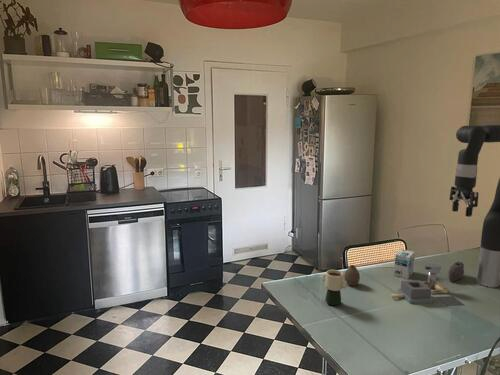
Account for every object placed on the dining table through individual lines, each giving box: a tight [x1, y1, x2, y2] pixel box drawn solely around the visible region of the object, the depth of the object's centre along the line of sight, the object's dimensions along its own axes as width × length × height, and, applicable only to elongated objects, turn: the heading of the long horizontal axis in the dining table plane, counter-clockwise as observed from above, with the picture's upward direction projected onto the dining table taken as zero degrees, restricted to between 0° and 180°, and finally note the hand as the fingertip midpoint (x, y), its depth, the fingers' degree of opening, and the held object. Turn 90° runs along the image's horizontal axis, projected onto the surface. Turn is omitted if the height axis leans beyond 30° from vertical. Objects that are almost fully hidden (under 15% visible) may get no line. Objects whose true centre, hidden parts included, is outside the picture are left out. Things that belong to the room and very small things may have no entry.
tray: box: [422, 280, 450, 294], centre depth 165 cm, size 9×9×2 cm
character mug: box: [322, 269, 348, 306], centre depth 150 cm, size 11×7×13 cm, turn 45°
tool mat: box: [435, 295, 465, 307], centre depth 154 cm, size 8×8×1 cm
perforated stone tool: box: [447, 261, 465, 283], centre depth 176 cm, size 15×5×7 cm, turn 134°
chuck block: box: [391, 279, 434, 304], centre depth 156 cm, size 15×10×6 cm, turn 95°
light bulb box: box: [393, 248, 416, 280], centre depth 181 cm, size 11×7×11 cm, turn 143°
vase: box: [344, 264, 361, 287], centre depth 168 cm, size 7×7×9 cm
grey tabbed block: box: [424, 262, 442, 290], centre depth 164 cm, size 4×7×11 cm, turn 96°
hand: (461, 213), depth 154 cm, fingers open, 8 cm apart
